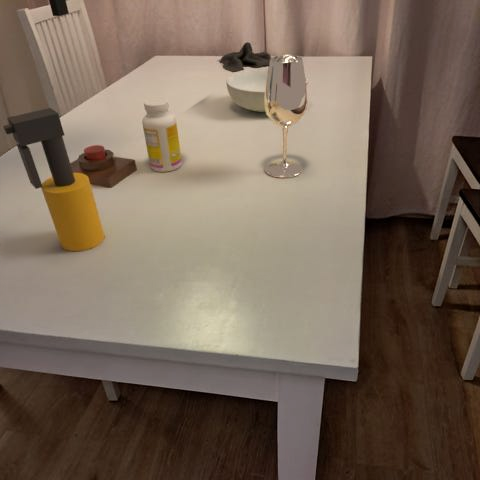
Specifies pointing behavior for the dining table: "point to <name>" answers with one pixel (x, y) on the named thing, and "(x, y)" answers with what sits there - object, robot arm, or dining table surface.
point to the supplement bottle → (161, 136)
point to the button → (94, 152)
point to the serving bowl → (249, 89)
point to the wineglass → (285, 104)
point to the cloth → (244, 59)
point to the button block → (104, 169)
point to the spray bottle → (61, 181)
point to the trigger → (29, 166)
